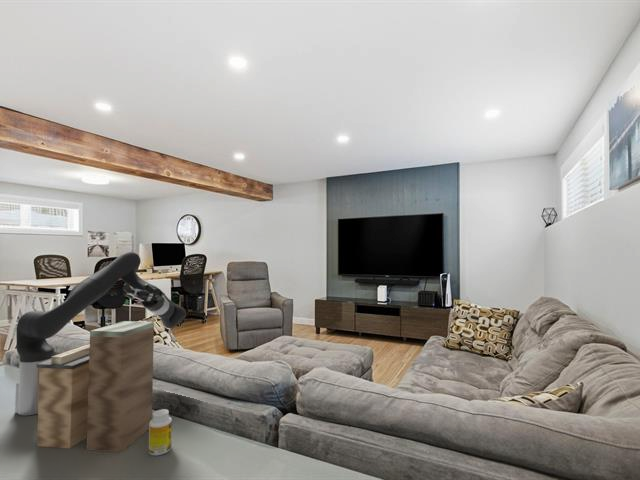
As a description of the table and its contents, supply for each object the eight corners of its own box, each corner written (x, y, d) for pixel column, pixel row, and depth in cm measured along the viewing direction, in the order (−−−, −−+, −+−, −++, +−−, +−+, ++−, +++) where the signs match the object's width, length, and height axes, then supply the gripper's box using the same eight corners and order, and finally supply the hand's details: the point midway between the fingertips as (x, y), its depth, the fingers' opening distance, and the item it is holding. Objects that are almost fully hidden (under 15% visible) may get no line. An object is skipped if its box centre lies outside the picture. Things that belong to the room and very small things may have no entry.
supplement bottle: (171, 453, 93) (172, 414, 94) (148, 458, 91) (149, 418, 91) (170, 443, 98) (171, 406, 99) (148, 448, 96) (149, 410, 96)
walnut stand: (86, 449, 95) (90, 330, 96) (121, 424, 109) (124, 321, 110) (120, 452, 94) (123, 331, 95) (151, 426, 108) (154, 321, 109)
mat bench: (33, 446, 96) (36, 364, 97) (82, 418, 113) (84, 347, 114) (70, 449, 95) (72, 365, 96) (113, 420, 112) (115, 348, 113)
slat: (51, 363, 97) (51, 356, 98) (108, 343, 119) (108, 337, 119) (60, 364, 97) (61, 357, 97) (116, 344, 119) (116, 338, 119)
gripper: (142, 294, 147) (120, 277, 134) (174, 294, 146) (155, 277, 132) (136, 311, 143) (113, 295, 130) (169, 312, 142) (149, 296, 128)
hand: (134, 286), depth 131 cm, fingers open, 8 cm apart
